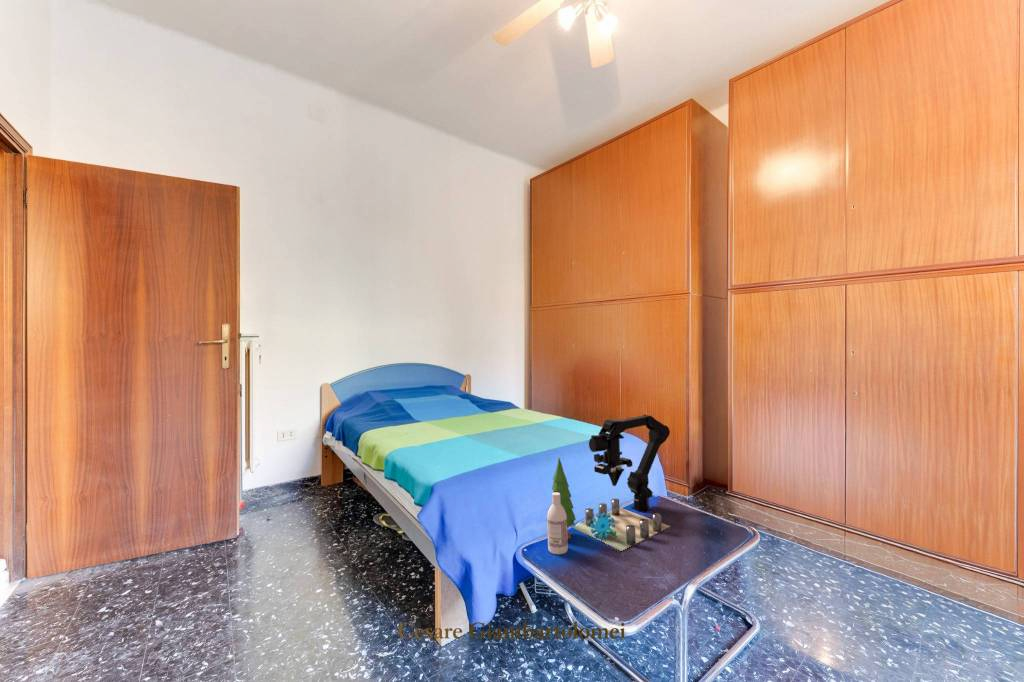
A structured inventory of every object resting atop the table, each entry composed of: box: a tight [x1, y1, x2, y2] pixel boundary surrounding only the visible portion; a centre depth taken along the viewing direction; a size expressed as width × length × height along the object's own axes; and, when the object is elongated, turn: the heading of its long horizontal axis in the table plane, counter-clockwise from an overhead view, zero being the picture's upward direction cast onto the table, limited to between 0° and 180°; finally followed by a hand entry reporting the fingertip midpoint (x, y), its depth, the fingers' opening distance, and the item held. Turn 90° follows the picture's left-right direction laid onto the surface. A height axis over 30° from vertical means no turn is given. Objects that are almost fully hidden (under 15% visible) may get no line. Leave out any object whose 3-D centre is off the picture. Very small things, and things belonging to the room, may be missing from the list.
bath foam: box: [546, 491, 569, 555], centre depth 141 cm, size 7×7×20 cm
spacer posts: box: [584, 498, 663, 547], centre depth 155 cm, size 19×23×6 cm
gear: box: [590, 512, 617, 539], centre depth 150 cm, size 11×6×10 cm
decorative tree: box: [551, 457, 577, 540], centre depth 151 cm, size 10×9×30 cm
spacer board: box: [571, 507, 671, 552], centre depth 156 cm, size 30×24×1 cm
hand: (614, 485), depth 170 cm, fingers closed
